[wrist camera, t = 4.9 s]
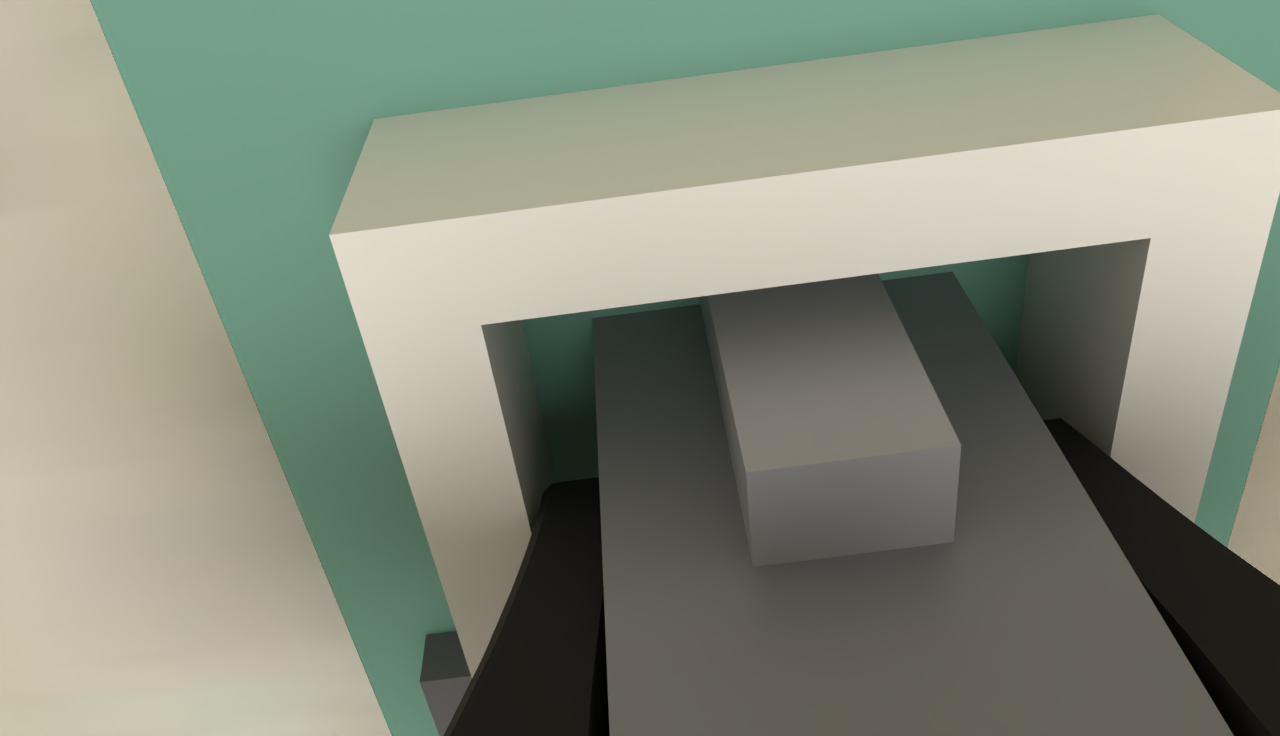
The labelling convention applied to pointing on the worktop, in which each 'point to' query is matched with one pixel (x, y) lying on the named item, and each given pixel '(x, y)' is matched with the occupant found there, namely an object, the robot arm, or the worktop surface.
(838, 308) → the plug
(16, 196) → the worktop surface
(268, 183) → the board
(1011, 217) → the frame
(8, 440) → the worktop surface
